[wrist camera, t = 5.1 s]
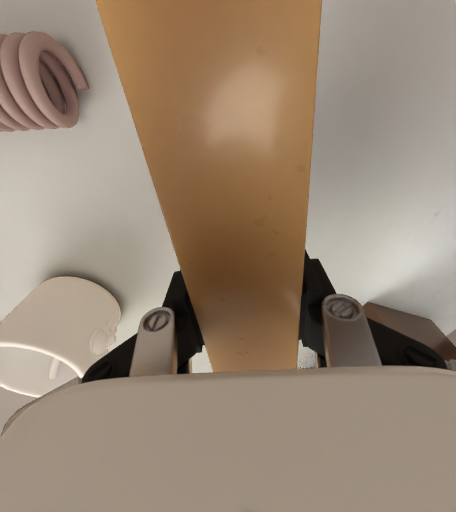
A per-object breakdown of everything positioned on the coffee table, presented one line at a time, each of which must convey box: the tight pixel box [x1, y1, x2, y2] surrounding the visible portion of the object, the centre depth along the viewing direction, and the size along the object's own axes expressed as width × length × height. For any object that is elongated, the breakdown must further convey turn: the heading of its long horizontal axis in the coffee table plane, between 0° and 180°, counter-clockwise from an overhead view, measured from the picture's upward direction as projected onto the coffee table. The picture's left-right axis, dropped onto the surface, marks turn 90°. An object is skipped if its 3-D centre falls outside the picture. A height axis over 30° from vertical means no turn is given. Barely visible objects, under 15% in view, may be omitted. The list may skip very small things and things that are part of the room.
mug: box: [0, 276, 121, 397], centre depth 25 cm, size 12×10×9 cm
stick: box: [96, 0, 322, 372], centre depth 11 cm, size 4×18×4 cm, turn 7°
